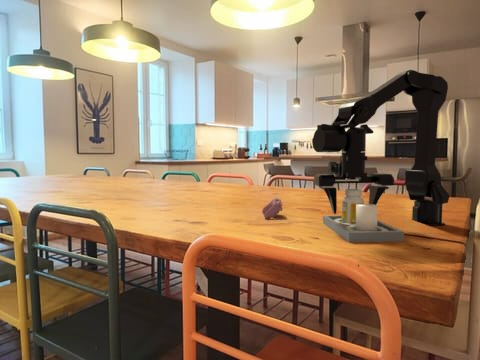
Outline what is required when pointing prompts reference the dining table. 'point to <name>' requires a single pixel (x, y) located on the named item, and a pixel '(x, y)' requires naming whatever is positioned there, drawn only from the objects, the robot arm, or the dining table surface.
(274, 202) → the video game controller
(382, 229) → the tray
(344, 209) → the supplement bottle
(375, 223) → the jaw peg
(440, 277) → the dining table surface
